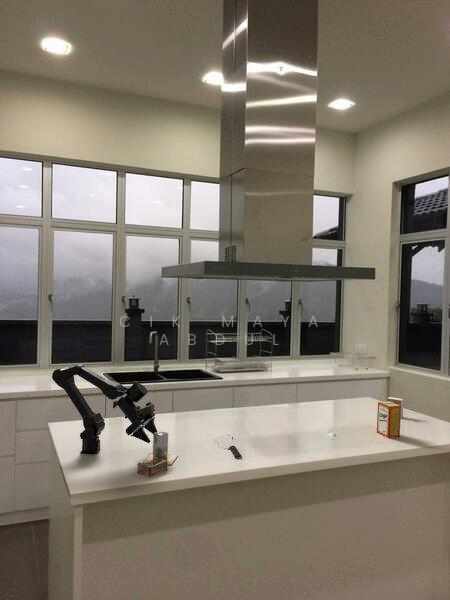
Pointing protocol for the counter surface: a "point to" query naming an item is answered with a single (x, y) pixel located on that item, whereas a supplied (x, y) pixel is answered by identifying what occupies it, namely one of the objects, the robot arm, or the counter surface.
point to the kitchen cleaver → (228, 444)
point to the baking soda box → (388, 419)
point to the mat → (170, 459)
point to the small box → (398, 402)
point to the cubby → (152, 467)
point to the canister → (160, 445)
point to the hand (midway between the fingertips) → (153, 439)
